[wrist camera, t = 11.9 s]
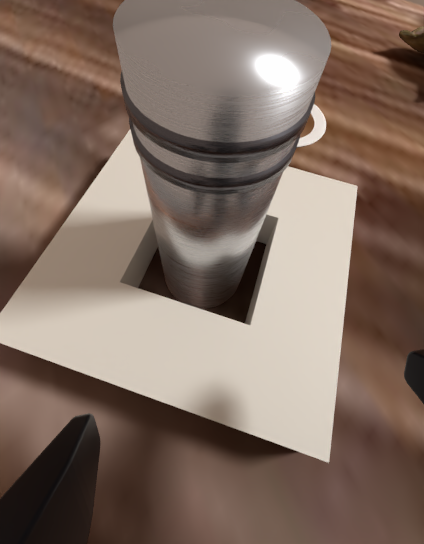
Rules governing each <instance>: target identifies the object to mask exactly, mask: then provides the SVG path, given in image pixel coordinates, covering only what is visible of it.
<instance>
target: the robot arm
mask: <svg viewBox="0 0 424 544" xmlns="http://www.w3.org/2000/svg"><path fill="white" fill-rule="evenodd" d="M404 377H405V380H406V382H407V383H408V385H409V386H410V387H411V389H412V390H413V391H414V392H415V394H416V395H417V396H418V397H419V399H420V400H421V401H422V402H423V404H424V350H417V351H412V352H410V353H409V354H408V356H407V361H406V366H405V371H404ZM99 453H100V436H99V432H98V429H97V426H96V422H95V419H94V416H93V415H92V414H84V415H79V416H75V417H74V418H73V419H72V420H71V421H70V422H69V423H68V424H67V425H66V426H65V427H64V428H63V430H62V431H61V432H60V433H59V434H58V435H57V436H56V437H55V438H54V440H53V441H52V442H51V443H50V444H49V445H48V446H47V447H46V448H45V450H44V451H43V452H42V453H41V454H40V455H39V456H38V457H37V458H36V460H35V461H34V462H33V463H32V464H31V465H30V466H29V467H28V468H27V470H26V471H25V472H24V473H23V474H22V475H21V476H20V477H19V478H18V479H17V481H16V482H15V483H14V484H13V485H12V486H11V487H10V488H9V489H8V491H7V492H6V493H5V494H4V495H3V496H2V497H1V498H0V544H87V541H88V536H89V531H90V526H91V520H92V513H93V506H94V497H95V488H96V480H97V471H98V462H99Z"/></svg>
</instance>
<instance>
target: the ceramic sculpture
mask: <svg viewBox="0 0 424 544" xmlns="http://www.w3.org/2000/svg"><path fill="white" fill-rule="evenodd" d="M399 36H400V38H401V39H402V40H403V41H404V42H406V43H407V44H408V45H410V46H411V47H412V48H413V49H415V50H417V51H418V52H421V53H424V26H423V27H419V28H417V29H416V30H414V31H412V32H410V31H408V30H403V31H400V33H399Z"/></svg>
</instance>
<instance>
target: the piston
mask: <svg viewBox="0 0 424 544" xmlns="http://www.w3.org/2000/svg"><path fill="white" fill-rule="evenodd" d="M113 29H114V34H115V39H116V44H117V48H118V53H119V58H120V63H121V68H122V72H121V81H120V82H121V88H122V93H123V97H124V102H125V106H126V110H127V113H128V115H129V124H130V129H131V134H132V138H133V143H134V146H135V149H136V151H137V153H138V155H139V157H140V160H141V165H142V170H143V175H144V179H145V184H146V189H147V194H148V199H149V204H150V208H151V213H152V218H153V223H154V228H155V233H156V238H157V242H158V247H159V252H160V257H161V262H162V267H163V272H164V276H165V281H166V284H167V287H168V289H169V291H170V292H171V293H172V295H173V296H174V297H175V298H176V299H178V300H179V301H180V302H182V303H184V304H187V305H190V306H193V307H196V308H211V307H215V306H218V305H220V304H222V303H224V302H226V301H227V300H228V299H230V298H231V297H232V296H233V294H234V293H235V292H236V290H237V288H238V286H239V283H240V281H241V278H242V275H243V273H244V270H245V268H246V265H247V263H248V260H249V258H250V255H251V253H252V250H253V247H254V245H255V242H256V240H257V237H258V235H259V232H260V230H261V227H262V225H263V222H264V219H265V217H266V214H267V212H268V209H269V207H270V204H271V202H272V199H273V197H274V194H275V192H276V189H277V186H278V184H279V181H280V179H281V176H282V174H283V171H284V170H285V169H286V168H287V166H288V165H289V163H290V162H291V159H292V157H293V155H294V152H295V150H296V147H297V145H298V142H299V138H300V134H301V133H302V131H303V130H304V127H305V125H306V123H307V120H308V118H309V115H310V113H311V110H312V108H313V105H314V101H315V90H316V87H317V85H318V82H319V80H320V77H321V75H322V72H323V69H324V67H325V64H326V62H327V59H328V57H329V54H330V50H331V39H330V35H329V33H328V30H327V29H326V27H325V25H324V24H323V23H322V21H321V20H320V19H319V18H318V17H317V16H316V15H315V14H314V13H313V12H312V11H310V10H309V9H308V8H306V7H305V6H304V5H302V4H300V3H299V2H297V1H295V0H125V1H124V2H123V3H122V4H121V5H120V6H119V8H118V9H117V11H116V13H115V16H114V19H113Z"/></svg>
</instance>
